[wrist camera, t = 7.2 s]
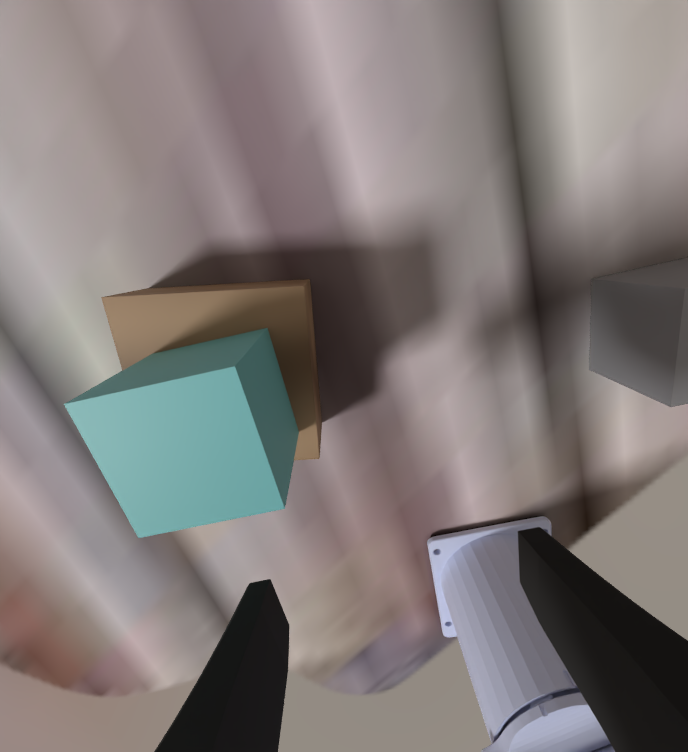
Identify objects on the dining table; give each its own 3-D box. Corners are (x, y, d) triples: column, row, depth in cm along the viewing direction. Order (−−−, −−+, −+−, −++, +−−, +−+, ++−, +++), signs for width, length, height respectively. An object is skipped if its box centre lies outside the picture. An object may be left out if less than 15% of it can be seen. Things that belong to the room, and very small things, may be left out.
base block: (322, 420, 20) (319, 458, 16) (185, 428, 20) (150, 468, 16) (310, 278, 17) (303, 286, 14) (152, 287, 17) (101, 297, 14)
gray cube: (679, 349, 19) (793, 382, 14) (588, 369, 19) (670, 407, 15) (690, 256, 17) (824, 257, 13) (590, 278, 18) (684, 288, 13)
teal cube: (298, 432, 16) (284, 508, 11) (195, 454, 16) (138, 537, 11) (267, 327, 14) (234, 366, 9) (151, 353, 14) (64, 404, 10)
